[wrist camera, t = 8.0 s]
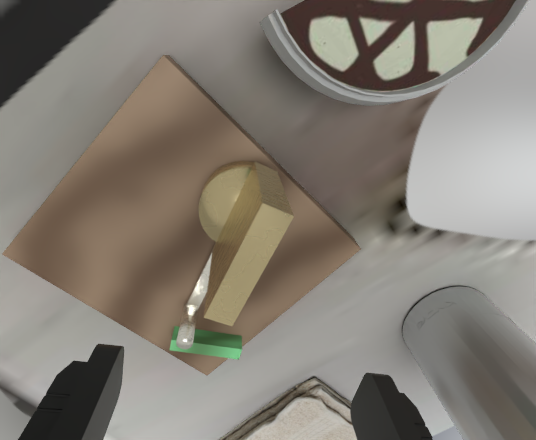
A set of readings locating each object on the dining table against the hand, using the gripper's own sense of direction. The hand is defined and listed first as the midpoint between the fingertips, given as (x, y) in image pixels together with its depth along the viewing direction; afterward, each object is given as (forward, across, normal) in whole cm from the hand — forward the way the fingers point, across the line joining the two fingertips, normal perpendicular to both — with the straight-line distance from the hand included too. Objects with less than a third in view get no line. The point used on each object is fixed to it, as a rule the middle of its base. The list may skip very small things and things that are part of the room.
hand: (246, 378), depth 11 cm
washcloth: (+18, -11, +29) cm, 36 cm away
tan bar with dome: (+15, +1, +3) cm, 15 cm away
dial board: (+17, +3, +4) cm, 18 cm away
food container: (+17, -5, -13) cm, 22 cm away
